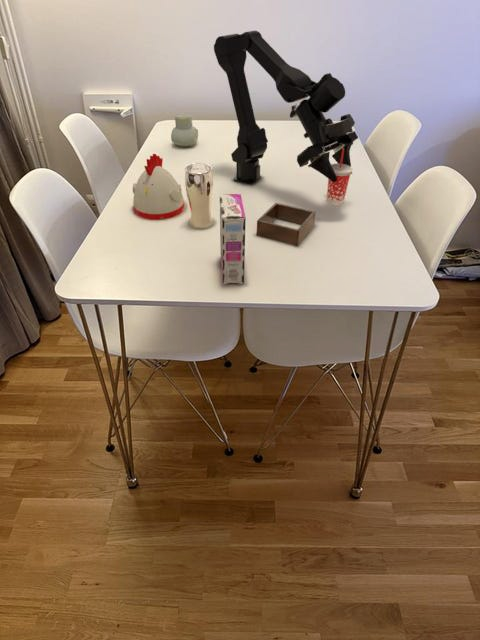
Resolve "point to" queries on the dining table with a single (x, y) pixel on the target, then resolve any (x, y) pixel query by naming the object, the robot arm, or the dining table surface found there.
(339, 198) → the beverage cup
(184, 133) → the air freshener
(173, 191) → the kitchen timer
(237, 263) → the candy bar box
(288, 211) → the crate
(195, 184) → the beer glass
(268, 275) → the dining table surface
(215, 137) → the dining table surface
